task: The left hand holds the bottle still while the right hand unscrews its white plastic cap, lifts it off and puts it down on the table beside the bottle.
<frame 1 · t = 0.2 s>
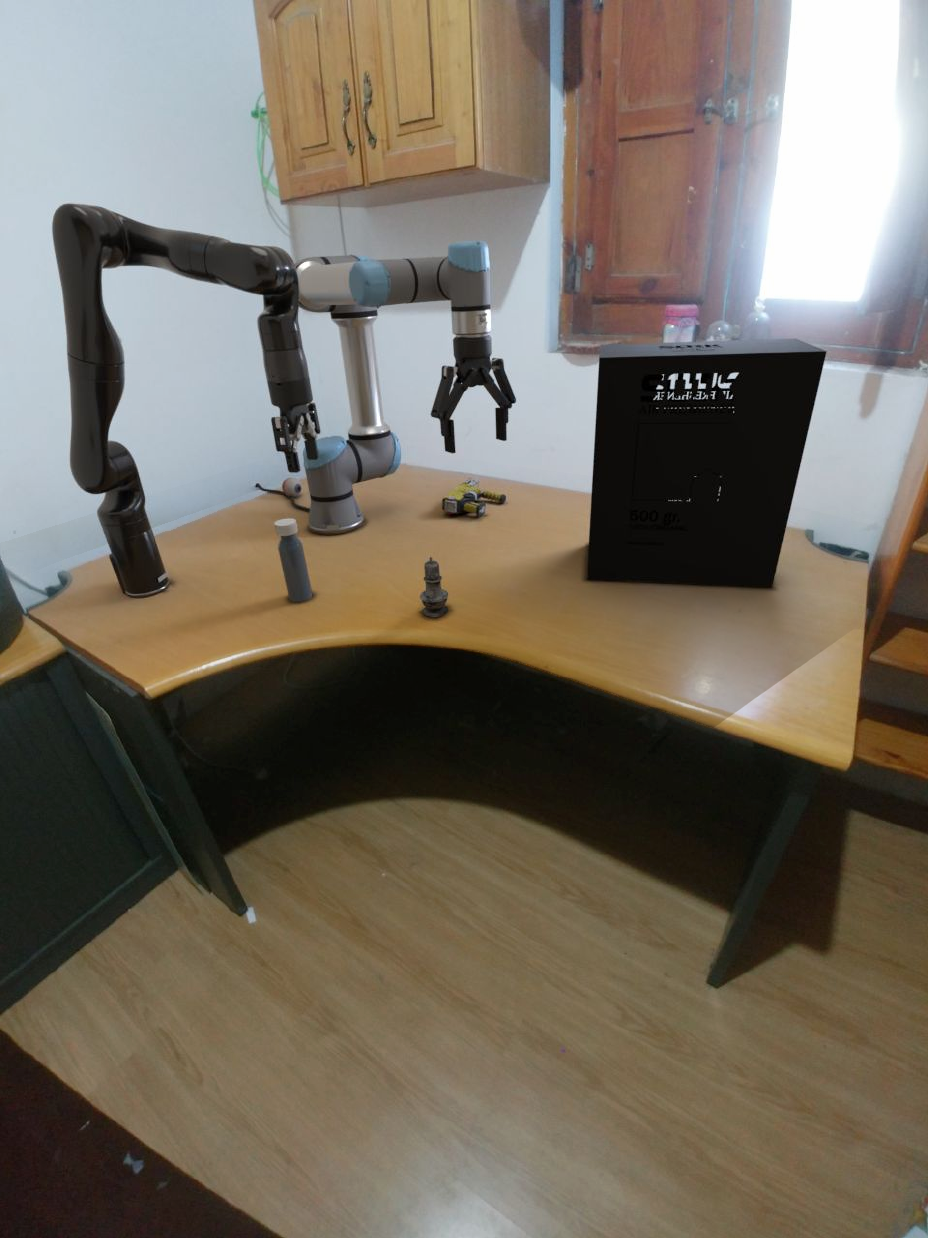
left hand: (304, 465, 116), 29 cm above the table, tool pointing down, fingers open, 8 cm apart
right hand: (476, 445, 127), 28 cm above the table, tool pointing down, fingers open, 13 cm apart
eyeball: (294, 496, 194), on the table
bottle: (301, 597, 132), on the table
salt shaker: (435, 611, 124), on the table
toy gun: (478, 504, 178), on the table
cardboard box: (672, 564, 137), on the table
cap: (285, 523, 124), point 17 cm above the table, screwed on, not yet turned
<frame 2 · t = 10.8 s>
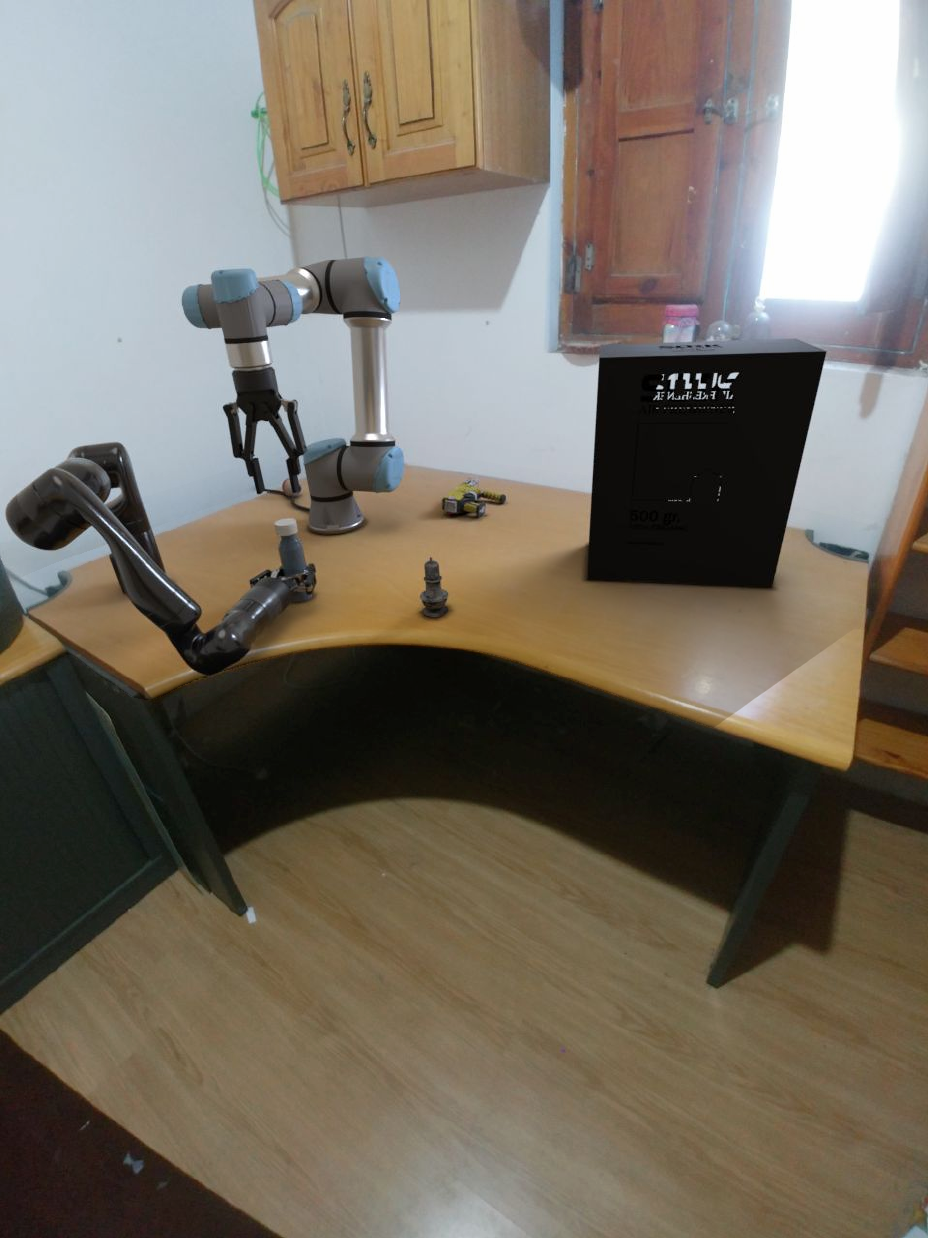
left hand: (300, 566, 131), 6 cm above the table, tool horizontal, fingers closed on bottle, 5 cm apart
right hand: (278, 491, 120), 24 cm above the table, tool pointing down, fingers open, 6 cm apart
bottle: (300, 597, 132), on the table, touching left hand
everything else where it was.
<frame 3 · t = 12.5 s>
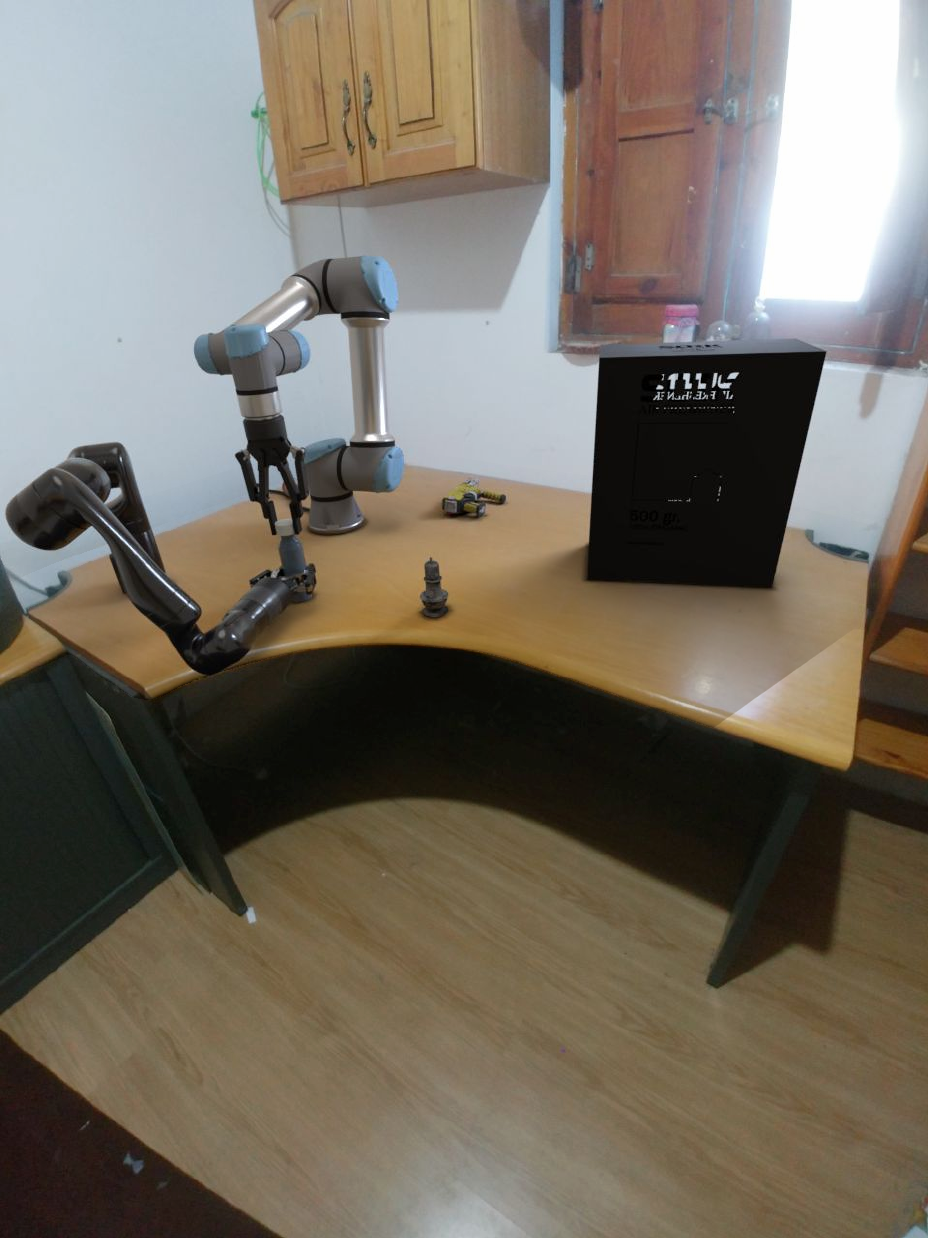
left hand: (300, 566, 131), 6 cm above the table, tool horizontal, fingers closed on bottle, 5 cm apart
right hand: (287, 532, 125), 15 cm above the table, tool pointing down, fingers closed on cap, 4 cm apart
bottle: (300, 597, 132), on the table, touching left hand
cap: (285, 523, 124), point 17 cm above the table, screwed on, not yet turned, touching right hand
everything else where it was.
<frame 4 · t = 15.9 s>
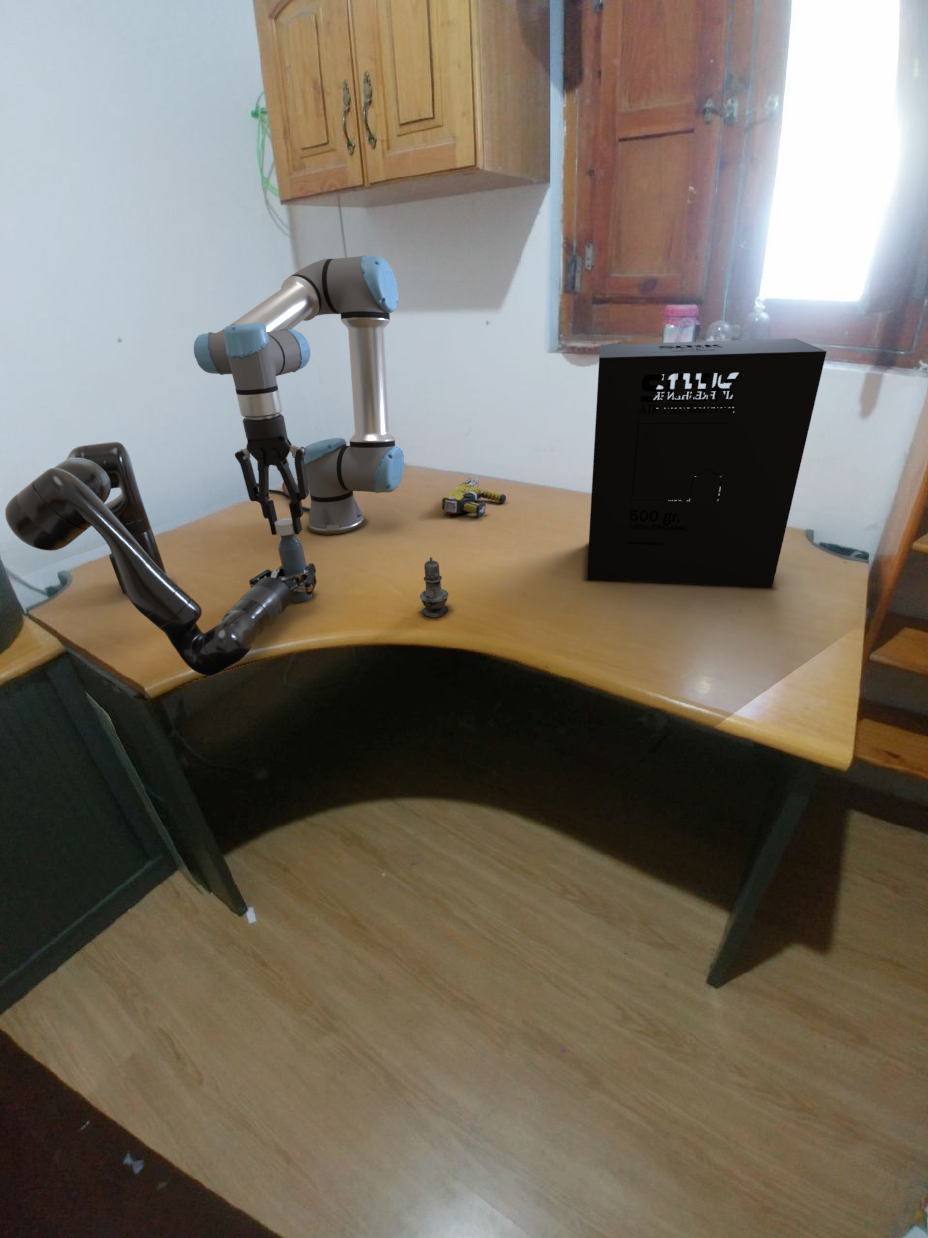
left hand: (300, 566, 131), 6 cm above the table, tool horizontal, fingers closed on bottle, 5 cm apart
right hand: (287, 531, 125), 15 cm above the table, tool pointing down, fingers closed on cap, 4 cm apart
bottle: (300, 597, 132), on the table, touching left hand
cap: (285, 522, 124), point 17 cm above the table, turned 119° so far, risen 0.1 cm, still on its thread, touching right hand
everything else where it was.
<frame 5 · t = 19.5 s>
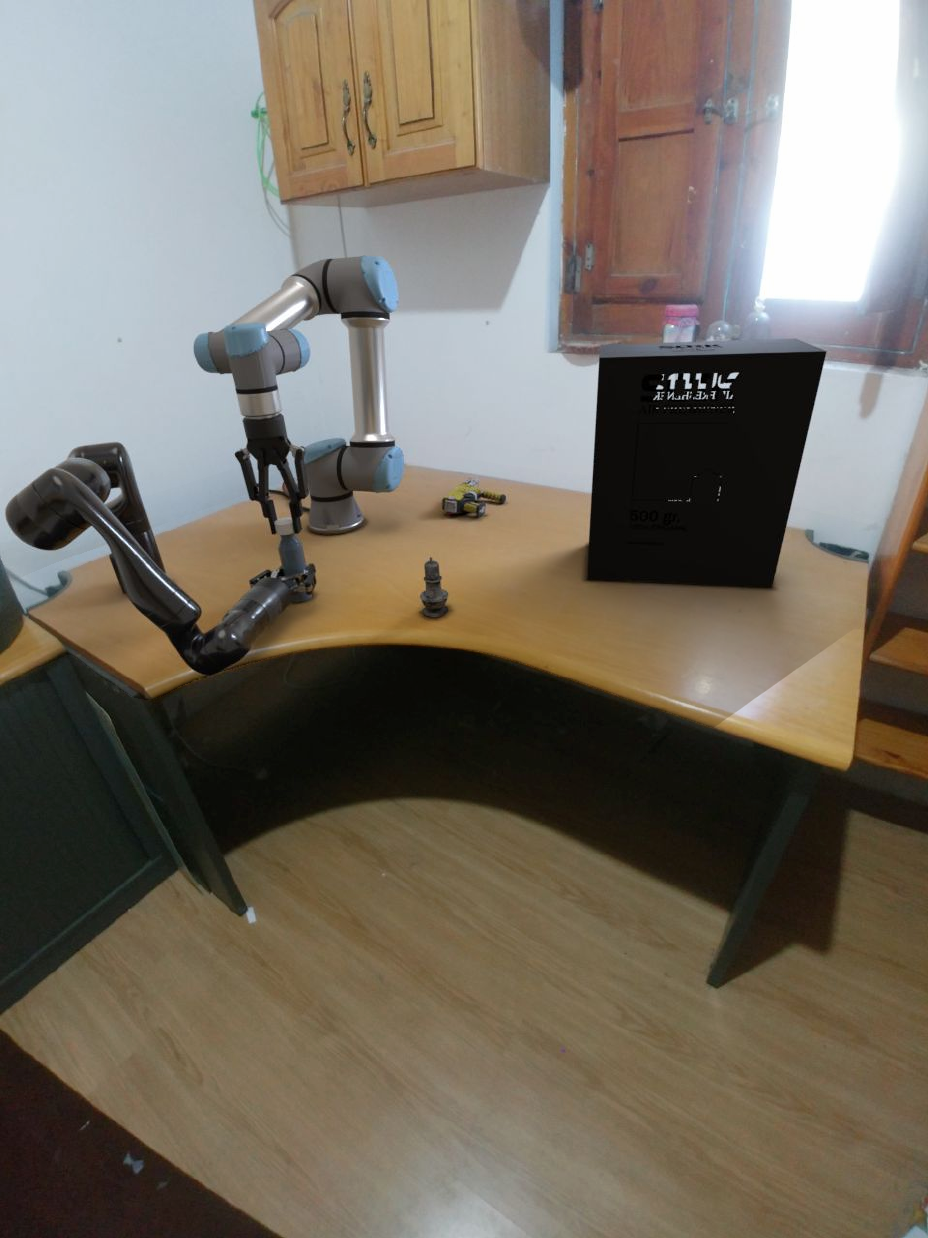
left hand: (300, 566, 131), 6 cm above the table, tool horizontal, fingers closed on bottle, 5 cm apart
right hand: (287, 531, 125), 15 cm above the table, tool pointing down, fingers closed on cap, 4 cm apart
bottle: (300, 597, 132), on the table, touching left hand
cap: (285, 522, 124), point 17 cm above the table, turned 238° so far, risen 0.2 cm, still on its thread, touching right hand
everything else where it was.
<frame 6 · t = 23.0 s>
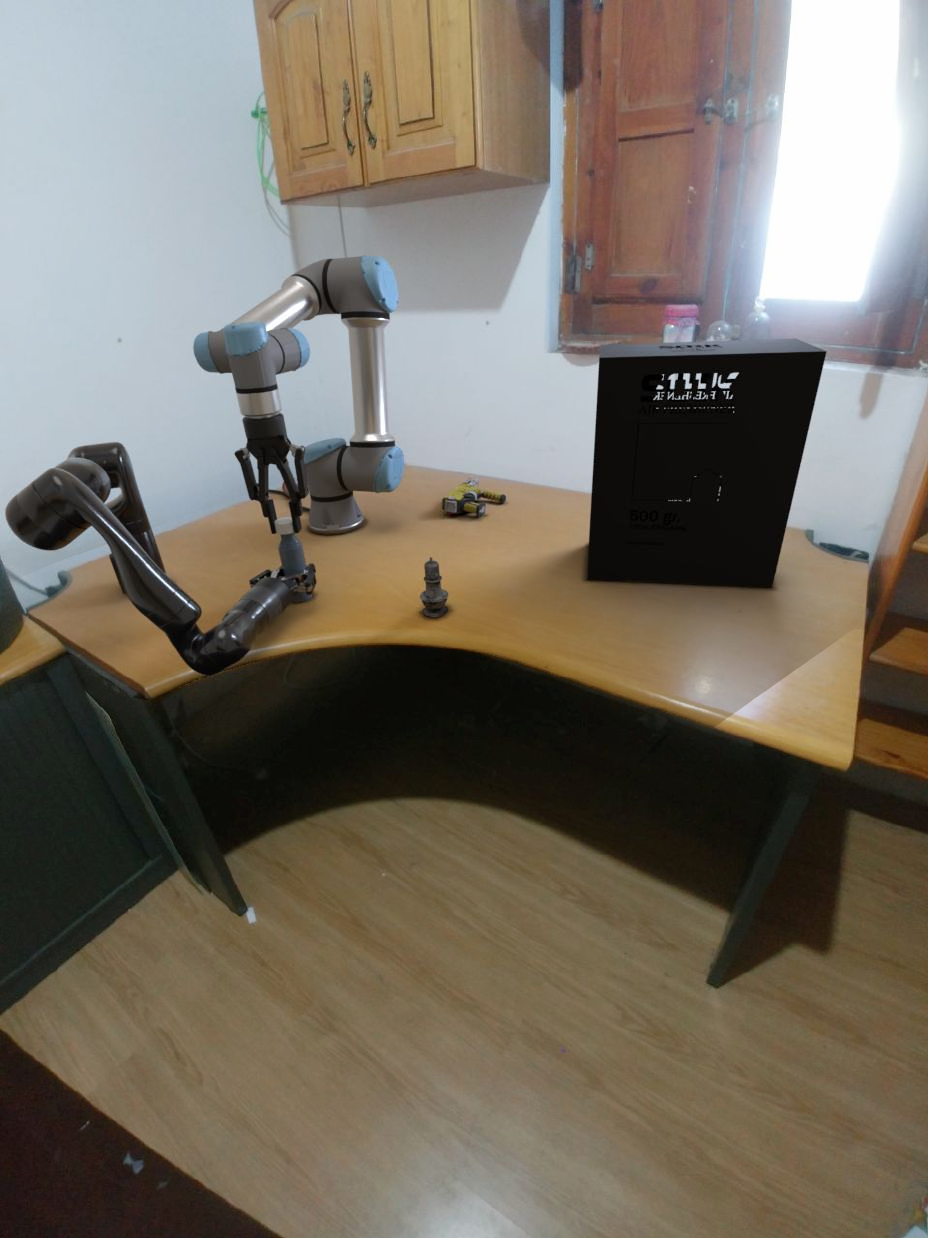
left hand: (300, 566, 131), 6 cm above the table, tool horizontal, fingers closed on bottle, 5 cm apart
right hand: (286, 530, 124), 15 cm above the table, tool pointing down, fingers closed on cap, 4 cm apart
bottle: (300, 597, 132), on the table, touching left hand
cap: (285, 521, 123), point 17 cm above the table, turned 357° so far, risen 0.3 cm, still on its thread, touching right hand
everything else where it was.
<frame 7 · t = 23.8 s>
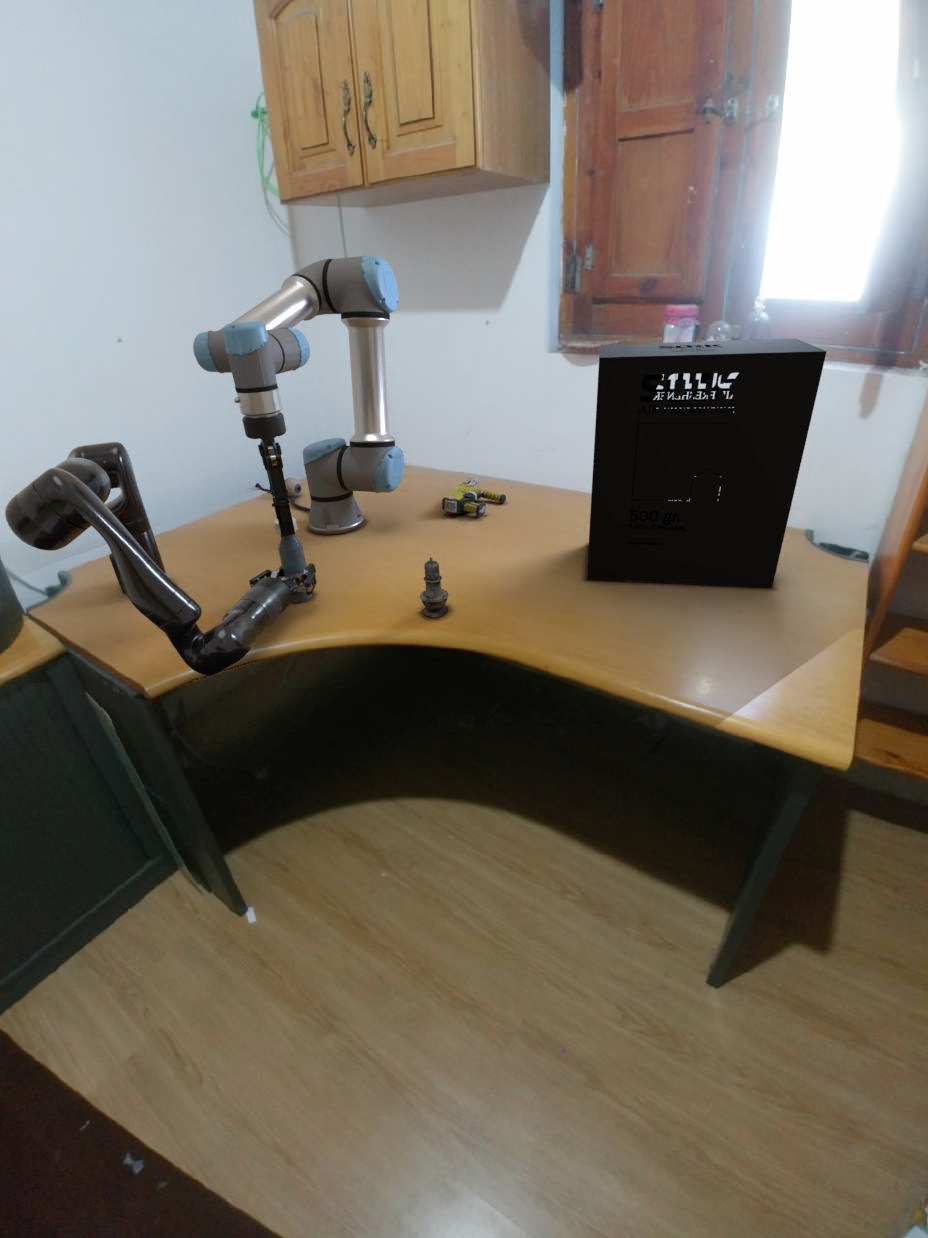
left hand: (300, 566, 131), 6 cm above the table, tool horizontal, fingers closed on bottle, 5 cm apart
right hand: (286, 530, 124), 16 cm above the table, tool pointing down, fingers closed on cap, 4 cm apart
bottle: (300, 597, 132), on the table, touching left hand
cap: (285, 521, 123), point 18 cm above the table, off its thread, touching right hand
everything else where it was.
when the right hand's fingers open (1 cm above the table, at t = 29.2 s): cap stays where it is, point 2 cm above the table.
when the left hand's fingers open (6 cm above the table, at t = 30.5 s): bottle stays where it is, on the table.
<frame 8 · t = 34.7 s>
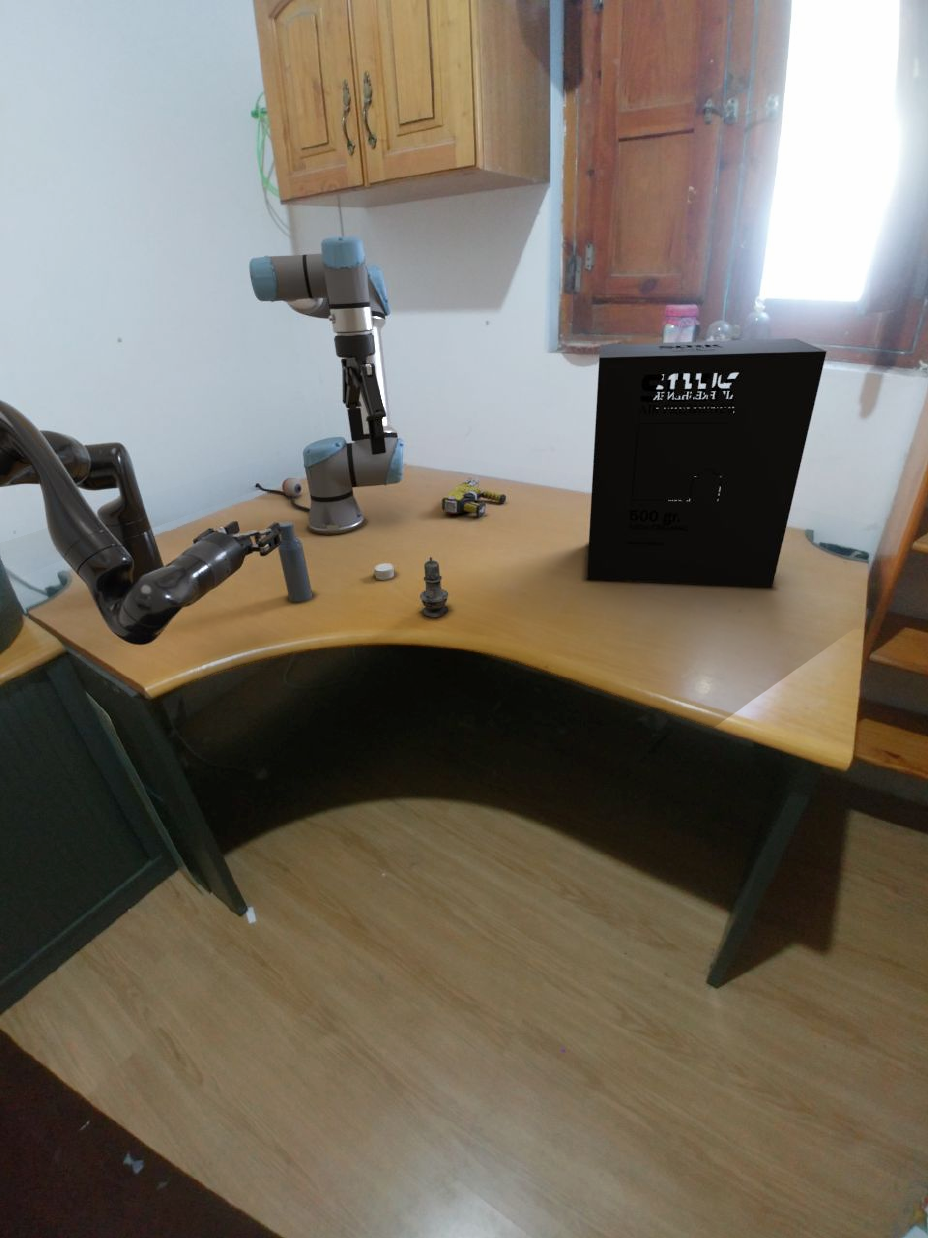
left hand: (257, 526, 113), 20 cm above the table, tool horizontal, fingers open, 8 cm apart
right hand: (368, 446, 124), 30 cm above the table, tool pointing down, fingers open, 13 cm apart
bottle: (300, 597, 132), on the table
cap: (383, 568, 138), point 2 cm above the table, off its thread
everything else where it was.
at the end: cap came off its thread; cap point 1.9 cm above the table; the left hand is holding nothing; the right hand is holding nothing; bottle tilted 0°; bottle moved 0.0 cm from its start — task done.
